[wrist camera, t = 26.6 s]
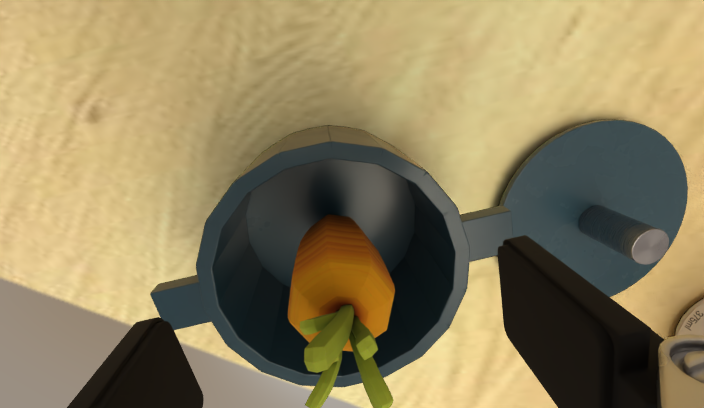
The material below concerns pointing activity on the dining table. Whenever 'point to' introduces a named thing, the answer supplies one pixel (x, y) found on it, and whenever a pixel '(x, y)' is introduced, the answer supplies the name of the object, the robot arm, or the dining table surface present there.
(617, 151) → the pot lid
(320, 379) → the carrot
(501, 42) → the dining table surface
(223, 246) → the pot
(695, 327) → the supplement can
